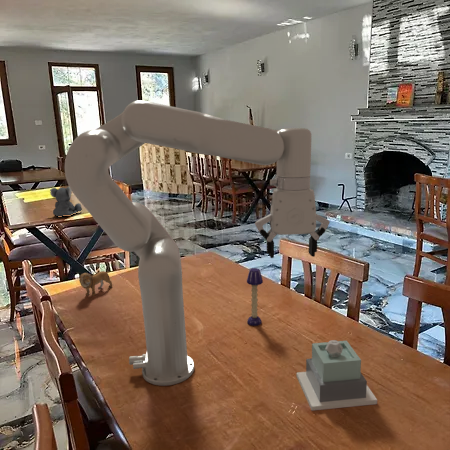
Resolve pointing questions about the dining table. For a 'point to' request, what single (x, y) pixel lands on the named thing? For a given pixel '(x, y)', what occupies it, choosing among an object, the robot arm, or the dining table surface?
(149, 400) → the dining table surface
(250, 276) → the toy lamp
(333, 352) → the game die
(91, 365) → the dining table surface
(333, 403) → the stepped pedestal
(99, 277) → the lion figurine
